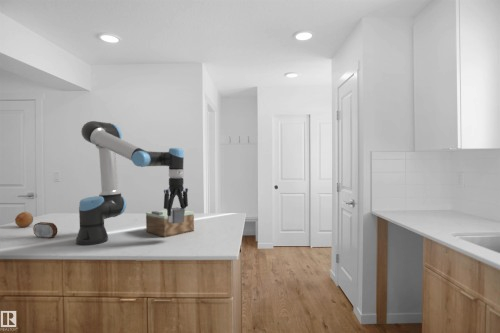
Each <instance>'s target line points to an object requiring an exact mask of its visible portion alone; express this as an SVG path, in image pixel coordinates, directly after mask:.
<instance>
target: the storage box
mask: <svg viewBox="0 0 500 333" xmlns="http://www.w3.org/2000/svg"><path fill="white" fill-rule="evenodd" d="M194 216H195V215H194V214H192V215H186V216H184V222H180V223H175V224H174V223H170V222H168V219H162V218H157V217H153V216H148V215H146V214H145V222H146V224H145V225H146V228H145V229H146V232H145V233H148V234H152V235H155V236H158V237H162V238H169V237H172V236H173V237H174V236H178V235H182V234H188V233H192V232H195V217H194Z"/></svg>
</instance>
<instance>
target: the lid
mask: <svg viewBox="0 0 500 333" xmlns="http://www.w3.org/2000/svg"><path fill="white" fill-rule="evenodd" d="M192 214H193V215H194V214H195V211H191V210H185V213H184V216H186V215H192ZM146 215H148V216H153V217H157V218H162V219H168V216H167V209H162V210H155V211H154V210H153V211H148V212H145V216H146Z"/></svg>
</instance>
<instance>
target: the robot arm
mask: <svg viewBox="0 0 500 333" xmlns="http://www.w3.org/2000/svg"><path fill="white" fill-rule="evenodd" d="M80 132H81V136H82V138H83V139H84V140H85V141H86V142H88V143H91V144H92V145H95V148H97V149H98V155H99V168H100V170H99V171H100V186H101V192H100V193H99V194H98V196H97V195H95V196H89V197H88V196H87V197H85V198H82V199H80V201H79V204H78V206H79V207H78V212H79V213H78V214H79V230H78V233H77V236H76V239H75V243H76V245H79V246H80V245H81V246H91V245H98V244H102V243H106V242H107V241H108V240H109V235H108V231H107V230H106V227H105V220H107V219H110V218H117V217H118V216H120V215H122V214H123V213H125V211H126V208H127V201H126V199H125V198H124V196H122V192H121V191H119V187H118V186H119V185H118V183H119V182H118V173H117V172H118V171H117V170H118V168H117V156H116V154H117V155H118V156H121V157H123V158H125V159H127V160H129V161H131V162H132V163H133V165H134V166H136V167H141V168H143V167H168V177H169V178H168V185H169V186H168V188H167V189H164V190H163V193H164V195H163V196H164V197H163V198H164V199H163V210H167V216H168V222H171V223H172V222H173V210H171V208H173V205H174V200H175V197H176V196H177V199H178V201H179V202H178V203H179V206H180V208H183V209H184V213H185V209H186V207H189V203H188V191H189V189H188V188H187V187H184V158H185V156H184V155H185V154H184V149H183V148H182V147H181V148H180V147H179V148H178V147H175V148H174V147H171V148H169V149H168V151H150V150H149V151H147V150H144V149H143V148H141V147H138V146H136V145H134V144H133V143H131V142H128V141H126V140H124V139H122V136H123V135H122V131H121V129H120V127H119V126H118V125H116V124H114V123H110V122H103V121H96V120H92V121H87V122H86V123H85V124H83V125H82V127H81V131H80Z"/></svg>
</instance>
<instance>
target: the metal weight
mask: <svg viewBox="0 0 500 333" xmlns="http://www.w3.org/2000/svg"><path fill="white" fill-rule="evenodd" d="M171 210H173V222H172V223H174V224H175V223H180V222H184V209H183V208H181V207H179V206H178V207H172V208H171ZM170 223H171V222H170Z"/></svg>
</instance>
